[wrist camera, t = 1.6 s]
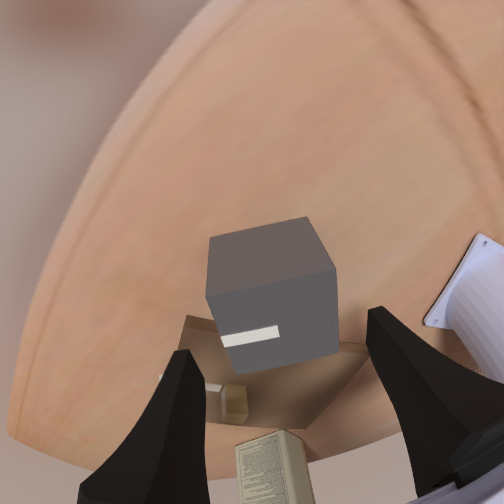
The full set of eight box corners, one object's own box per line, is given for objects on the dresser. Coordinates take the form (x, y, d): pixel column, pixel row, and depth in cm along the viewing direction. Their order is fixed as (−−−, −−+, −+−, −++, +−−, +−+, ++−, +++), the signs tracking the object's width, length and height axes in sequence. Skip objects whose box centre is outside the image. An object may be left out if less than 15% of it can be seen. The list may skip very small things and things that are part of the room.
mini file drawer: (306, 216, 15) (336, 269, 11) (315, 292, 18) (339, 354, 14) (209, 237, 16) (205, 298, 11) (233, 310, 18) (236, 376, 14)
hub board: (366, 345, 21) (382, 381, 18) (303, 420, 26) (310, 451, 23) (172, 311, 18) (164, 355, 15) (154, 403, 23) (149, 438, 20)
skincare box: (256, 454, 30) (266, 547, 19) (232, 444, 28) (239, 547, 17) (304, 438, 28) (324, 537, 18) (284, 426, 26) (302, 539, 16)
